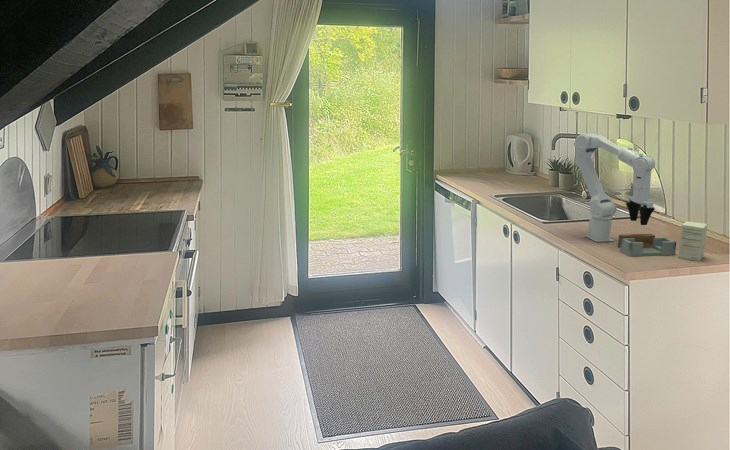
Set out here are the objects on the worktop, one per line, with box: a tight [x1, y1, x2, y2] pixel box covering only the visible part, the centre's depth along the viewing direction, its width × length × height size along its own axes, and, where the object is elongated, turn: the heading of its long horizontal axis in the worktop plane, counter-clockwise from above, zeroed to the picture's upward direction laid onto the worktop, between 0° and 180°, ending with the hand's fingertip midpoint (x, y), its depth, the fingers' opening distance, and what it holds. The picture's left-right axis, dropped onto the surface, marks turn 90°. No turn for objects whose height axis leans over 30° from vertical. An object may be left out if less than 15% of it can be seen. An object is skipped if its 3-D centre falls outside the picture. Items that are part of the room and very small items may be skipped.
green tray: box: [619, 236, 677, 257], centre depth 231 cm, size 7×18×5 cm, turn 96°
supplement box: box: [678, 221, 709, 262], centre depth 225 cm, size 7×7×13 cm
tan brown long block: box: [617, 233, 656, 249], centre depth 239 cm, size 3×13×5 cm, turn 96°
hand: (638, 222), depth 237 cm, fingers open, 7 cm apart
